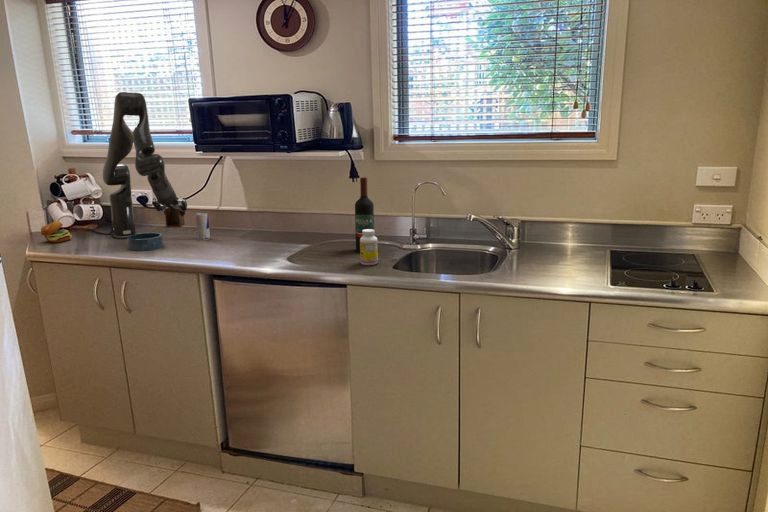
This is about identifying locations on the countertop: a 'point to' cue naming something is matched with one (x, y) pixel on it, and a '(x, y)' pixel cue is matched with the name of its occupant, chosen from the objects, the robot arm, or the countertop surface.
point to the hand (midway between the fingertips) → (175, 214)
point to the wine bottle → (363, 213)
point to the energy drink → (202, 226)
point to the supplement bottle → (368, 248)
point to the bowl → (145, 241)
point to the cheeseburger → (55, 232)
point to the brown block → (173, 217)
